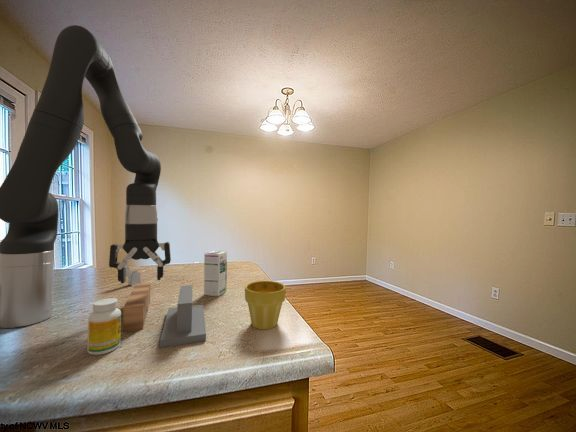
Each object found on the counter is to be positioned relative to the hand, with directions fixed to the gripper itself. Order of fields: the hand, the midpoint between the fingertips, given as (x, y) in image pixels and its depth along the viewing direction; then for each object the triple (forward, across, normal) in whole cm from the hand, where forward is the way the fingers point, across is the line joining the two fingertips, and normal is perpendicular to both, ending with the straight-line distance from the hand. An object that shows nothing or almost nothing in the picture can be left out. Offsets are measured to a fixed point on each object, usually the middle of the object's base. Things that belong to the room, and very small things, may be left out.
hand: (141, 280), depth 66 cm
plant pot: (+10, +30, -17) cm, 36 cm away
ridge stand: (+9, +11, -12) cm, 18 cm away
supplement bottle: (+9, -4, -17) cm, 20 cm away
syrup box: (+10, +20, +11) cm, 25 cm away
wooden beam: (+9, -1, 0) cm, 9 cm away
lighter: (+9, -8, +30) cm, 32 cm away
